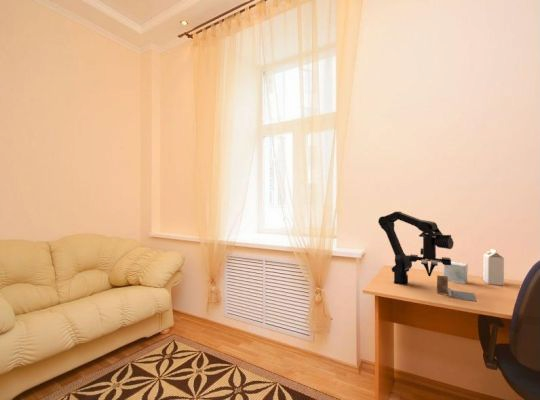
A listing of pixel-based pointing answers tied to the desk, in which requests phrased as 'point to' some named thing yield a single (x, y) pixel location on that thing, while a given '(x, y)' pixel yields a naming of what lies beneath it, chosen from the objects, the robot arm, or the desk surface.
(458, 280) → the skincare box
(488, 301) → the desk surface
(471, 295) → the rubber mat
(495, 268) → the milk carton
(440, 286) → the wooden block
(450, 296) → the stop strip
